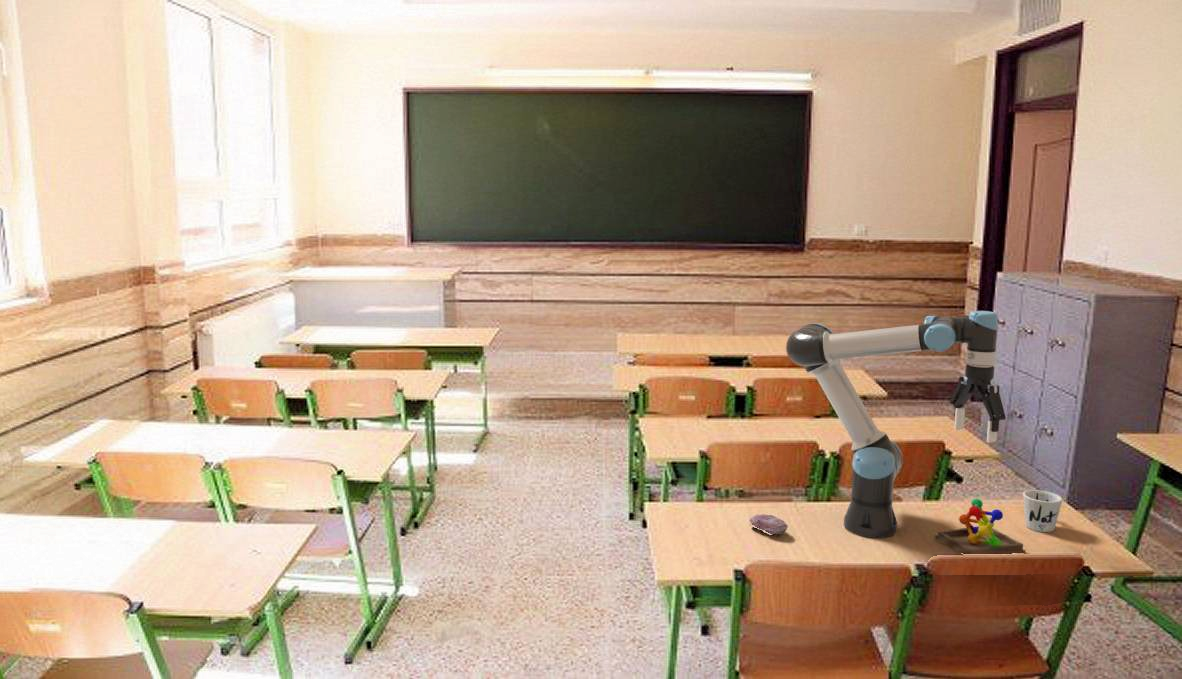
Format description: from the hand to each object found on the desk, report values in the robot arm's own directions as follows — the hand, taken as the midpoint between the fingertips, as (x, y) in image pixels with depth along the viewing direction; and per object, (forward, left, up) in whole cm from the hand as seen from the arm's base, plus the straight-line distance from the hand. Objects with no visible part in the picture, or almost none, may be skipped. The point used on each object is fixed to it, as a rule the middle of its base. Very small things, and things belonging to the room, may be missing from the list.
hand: (974, 435), depth 243 cm
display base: (+12, -6, -29) cm, 32 cm away
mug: (+4, +22, -29) cm, 37 cm away
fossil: (-15, -58, -29) cm, 67 cm away
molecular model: (+12, -6, -28) cm, 31 cm away
